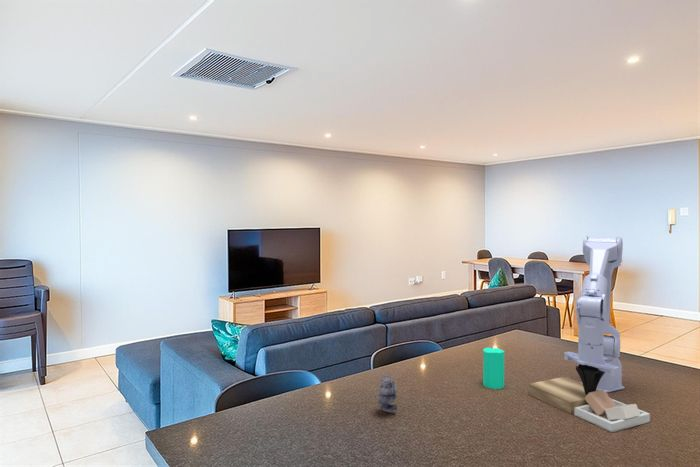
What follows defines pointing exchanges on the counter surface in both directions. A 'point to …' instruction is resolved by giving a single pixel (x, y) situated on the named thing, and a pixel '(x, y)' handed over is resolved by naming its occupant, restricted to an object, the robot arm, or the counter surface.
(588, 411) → the tray
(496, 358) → the candle
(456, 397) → the counter surface
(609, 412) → the cream tile
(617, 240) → the robot arm
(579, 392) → the board
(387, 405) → the grey stone figurine
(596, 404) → the terracotta tile
